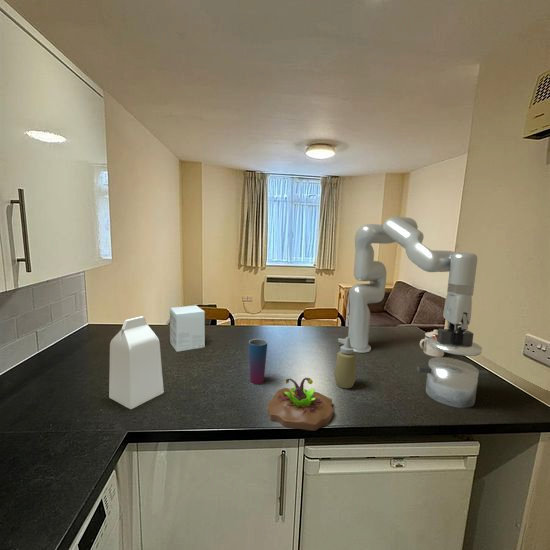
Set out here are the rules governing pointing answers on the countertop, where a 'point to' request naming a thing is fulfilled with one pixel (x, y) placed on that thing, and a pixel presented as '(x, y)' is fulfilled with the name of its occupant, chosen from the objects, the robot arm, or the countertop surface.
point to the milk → (135, 364)
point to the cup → (257, 360)
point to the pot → (452, 381)
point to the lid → (445, 344)
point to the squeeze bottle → (345, 366)
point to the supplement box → (187, 328)
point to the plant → (300, 407)
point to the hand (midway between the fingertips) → (454, 341)
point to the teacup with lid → (428, 348)
